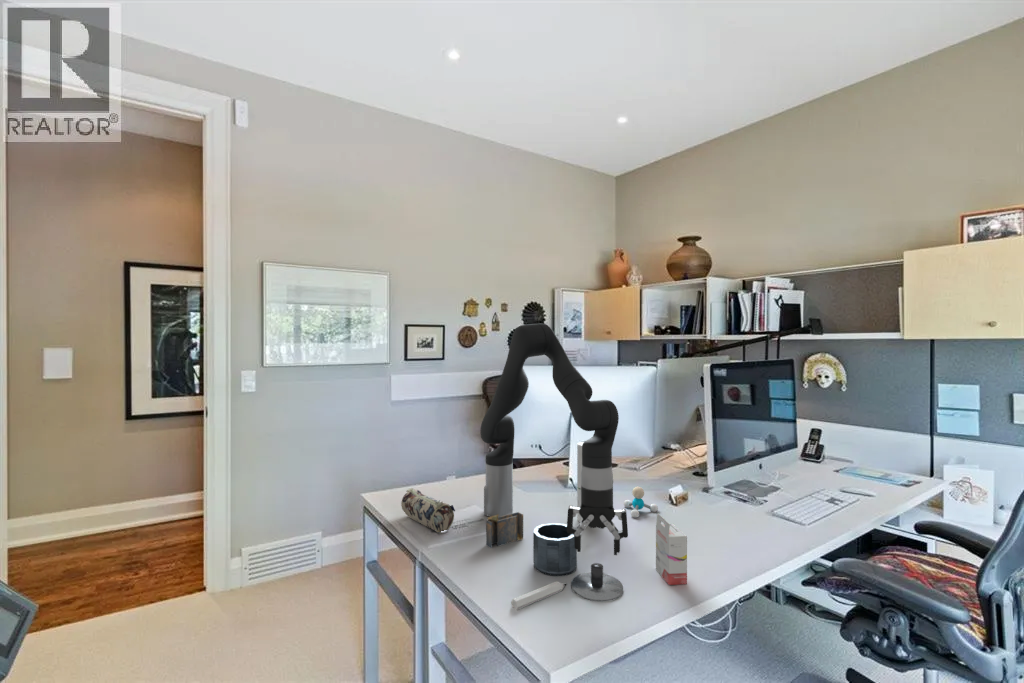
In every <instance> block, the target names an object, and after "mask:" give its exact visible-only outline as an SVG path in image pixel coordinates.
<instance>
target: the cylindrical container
mask: <svg viewBox="0 0 1024 683" xmlns="http://www.w3.org/2000/svg"><path fill="white" fill-rule="evenodd" d="M584 442H585V441H581V442H580V441H579V442H577V443H576V444H577V445H576V446H577V447H576V448H577V449H576V450H577V451H576V452H577V453H576V454H577V456H576V460H577V461H576V462H577V464H576V466H577V468H576V470H577V472H576V474H577V475H576V477H577V478H576V479H577V481H576V485H577V487H576V489H577V490H576V494H577V495H576V496H577V497H576V500H577V504H576V506H577V507H576V508H580V507H581V471H582V445H583V443H584ZM576 519H577V521H578V522H579V523H580V522H581V521H582V519H583V518H582V517H581V515H580V514H579V513H577V514H576Z"/></svg>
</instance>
